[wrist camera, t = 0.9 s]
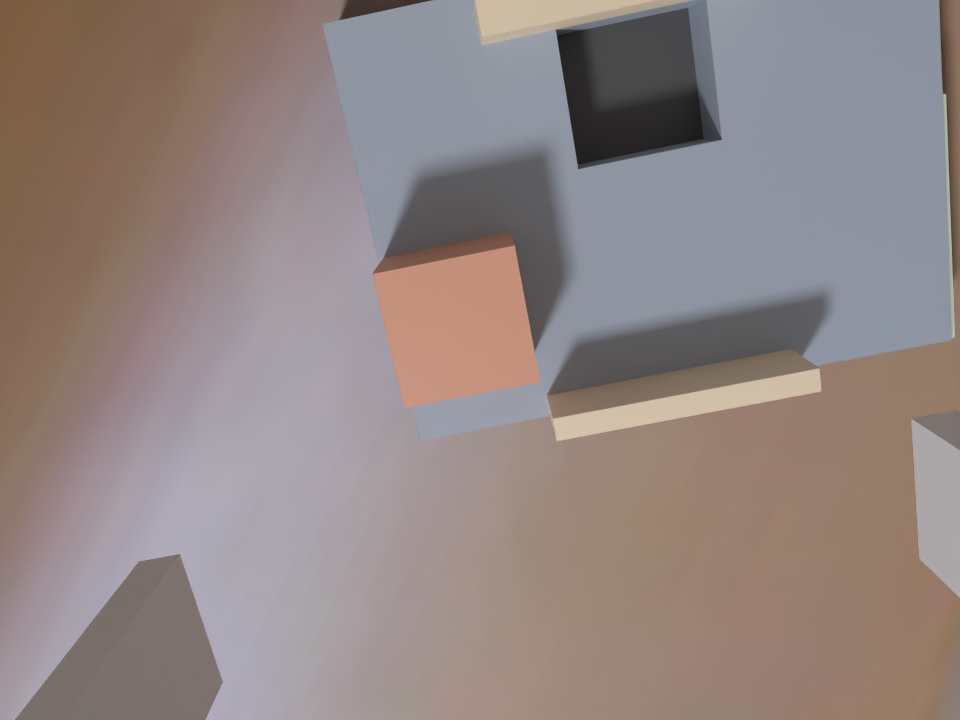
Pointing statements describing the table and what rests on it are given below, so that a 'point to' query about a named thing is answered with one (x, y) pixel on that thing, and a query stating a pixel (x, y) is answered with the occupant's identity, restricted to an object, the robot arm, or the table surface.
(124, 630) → the robot arm
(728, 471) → the table surface
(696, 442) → the table surface
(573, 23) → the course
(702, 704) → the table surface
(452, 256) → the block
